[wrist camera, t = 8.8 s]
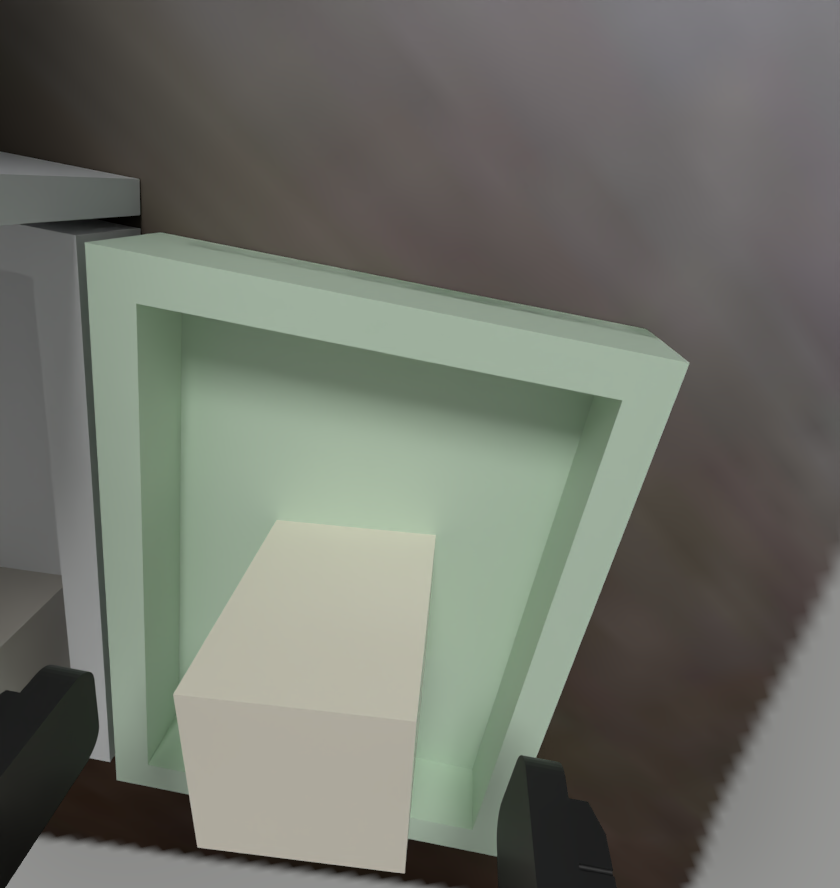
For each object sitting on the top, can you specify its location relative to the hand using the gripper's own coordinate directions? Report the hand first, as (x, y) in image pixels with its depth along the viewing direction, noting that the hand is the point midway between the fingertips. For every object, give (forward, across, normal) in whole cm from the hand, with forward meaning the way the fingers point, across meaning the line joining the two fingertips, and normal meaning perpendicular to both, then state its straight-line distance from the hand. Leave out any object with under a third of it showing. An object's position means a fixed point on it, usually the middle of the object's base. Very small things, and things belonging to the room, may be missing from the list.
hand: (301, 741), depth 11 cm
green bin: (+7, 0, +1) cm, 7 cm away
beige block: (+6, 0, +1) cm, 6 cm away
